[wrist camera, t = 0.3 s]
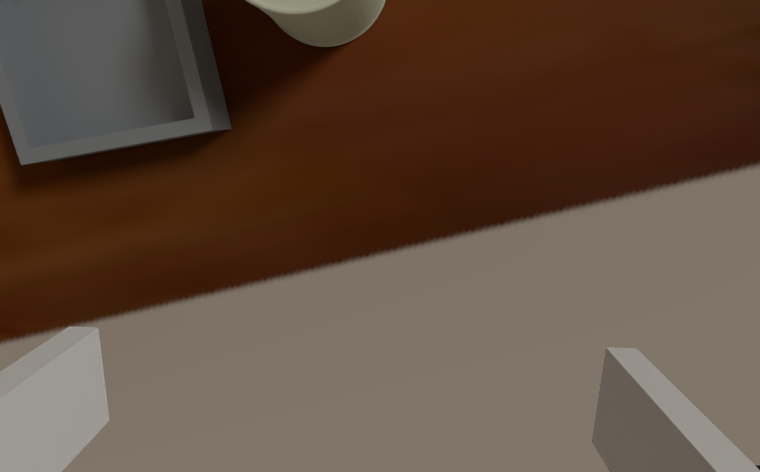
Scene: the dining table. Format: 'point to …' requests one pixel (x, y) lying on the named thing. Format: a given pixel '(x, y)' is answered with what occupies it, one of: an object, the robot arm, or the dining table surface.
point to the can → (322, 18)
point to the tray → (106, 75)
